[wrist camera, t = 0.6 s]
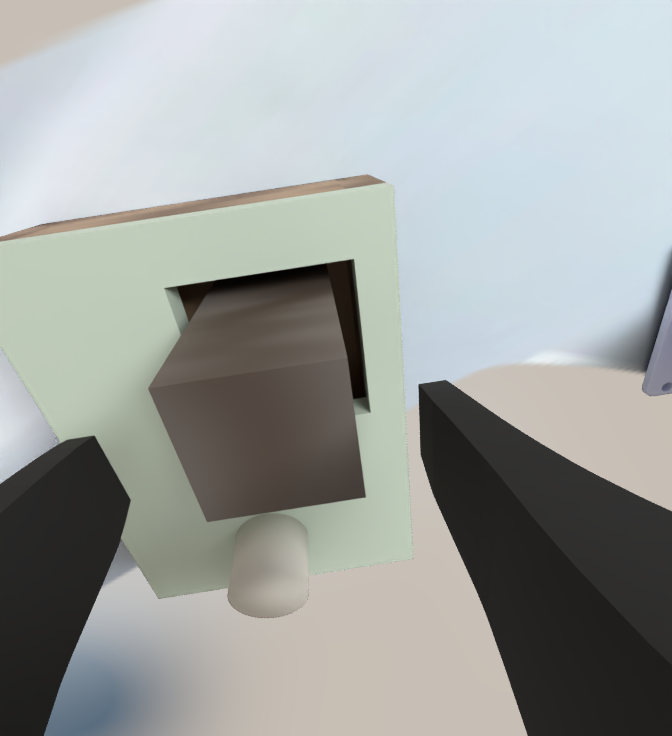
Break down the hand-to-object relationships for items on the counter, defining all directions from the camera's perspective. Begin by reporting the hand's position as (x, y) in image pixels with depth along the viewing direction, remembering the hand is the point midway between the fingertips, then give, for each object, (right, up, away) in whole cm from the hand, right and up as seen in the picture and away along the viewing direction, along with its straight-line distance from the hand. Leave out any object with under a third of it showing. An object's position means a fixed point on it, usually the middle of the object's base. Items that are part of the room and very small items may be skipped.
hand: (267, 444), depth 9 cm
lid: (-2, -1, +6) cm, 7 cm away
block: (-1, +4, +7) cm, 8 cm away
